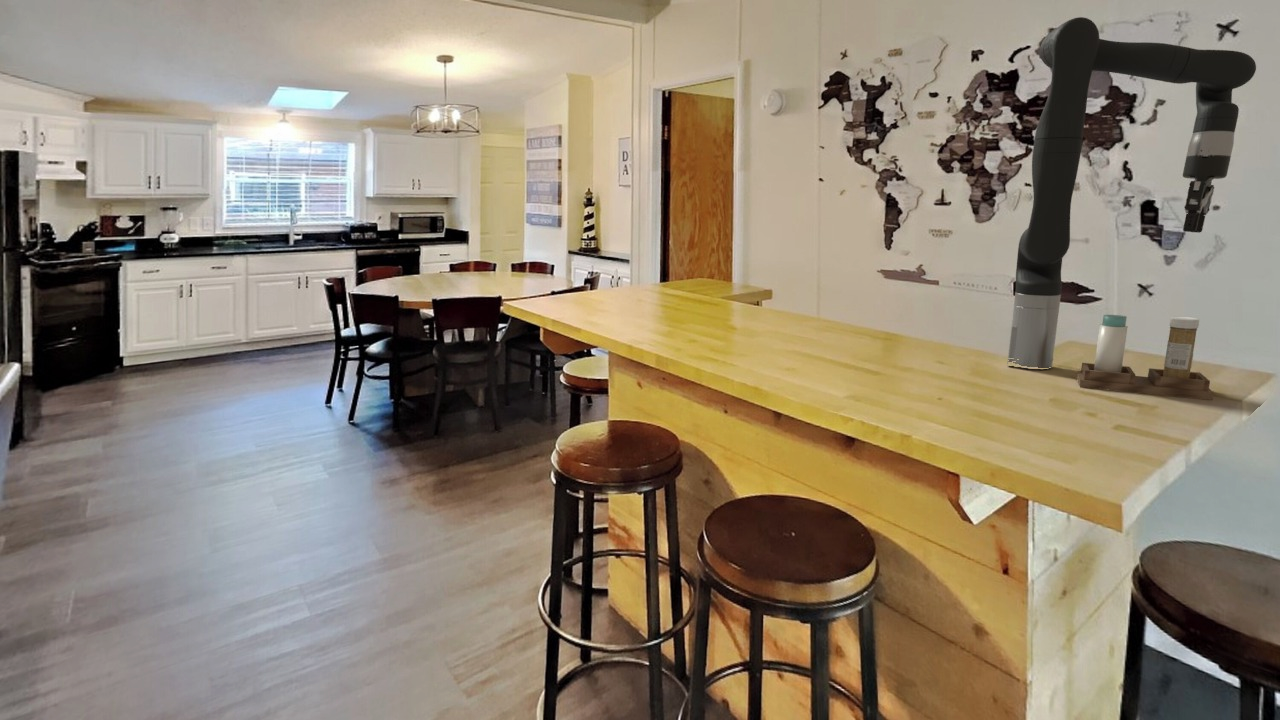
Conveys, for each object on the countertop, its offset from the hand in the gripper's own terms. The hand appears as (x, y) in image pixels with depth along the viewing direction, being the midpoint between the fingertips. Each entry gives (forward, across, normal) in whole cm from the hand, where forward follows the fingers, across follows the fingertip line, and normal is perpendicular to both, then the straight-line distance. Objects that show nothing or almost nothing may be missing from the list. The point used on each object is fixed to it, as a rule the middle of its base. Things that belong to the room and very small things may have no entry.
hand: (1192, 232), depth 153 cm
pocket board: (+32, +21, 0) cm, 39 cm away
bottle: (+31, +23, -6) cm, 39 cm away
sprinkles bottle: (+31, +19, +5) cm, 36 cm away
